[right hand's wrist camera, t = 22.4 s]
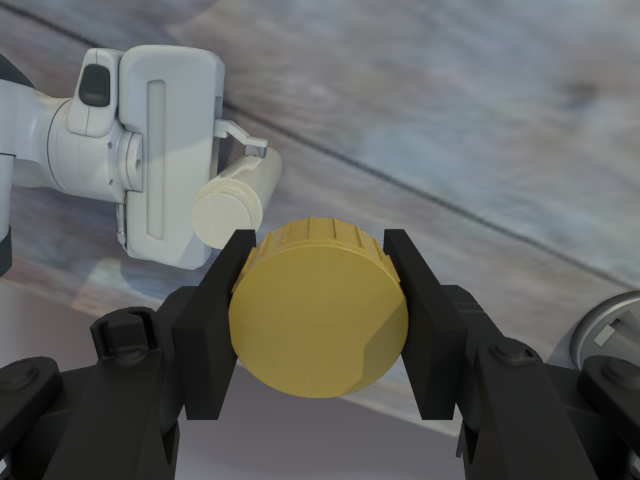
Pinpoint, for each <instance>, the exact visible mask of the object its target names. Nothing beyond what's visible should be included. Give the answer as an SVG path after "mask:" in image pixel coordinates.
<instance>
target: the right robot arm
mask: <svg viewBox="0 0 640 480" xmlns="http://www.w3.org/2000/svg"><path fill="white" fill-rule="evenodd" d="M253 247H255V248H256V234H255V229H236V230H235V231H234V233H233V235H232V236H231V238H230V239H229V241H228V242H227V244H226V245H225V247H224V248H223V250H222V251H221V253H220V254H219V256H218V257H217V259H216V260H215V262H214V263H213V265H212V266H211V268H210V269H209V271H208V272H207V274H206V275H205V277H204V278H203V280H202V281H201V283H200V284H199V286H182V287H181V288H179V289H177V290H176V291H174V292H173V293H171V294H170V295H169V296H168V297H167V299H166V300H165V301H164V302H163V304H162V306H160V308H159V309H158V310H157V311H156V312H155V311H154V310H153V309H151V308H147V307H128V308H124V309H119V310H116V311H114V312H111V313H108V314H106V315H104V316H103V317H101V318H100V319H98V320H96V321H95V322H94V323H93V325H92V326H91V327H90V330H91V334H92V337H93V341H94V345H95V348H96V352H97V355H98V359H99V360H98V362H97V364H96V365H93V366H89V367H85V368H80V369H75V370H70V371H65V372H61V373H60V371H59V368H58V365H57V363H56V361H54V360H53V359H52V358H48V357H33V358H27V359H22V360H20V361H16V362H13V363H10V364H9V365H7V366H5V367H3V368H1V369H0V461H1V460H2V459H4V461H5V463H6V466H7V467H6V468H5V469H4V470H3V471H2V473H1V474H0V480H174V478H175V470H176V462H177V453H178V445H179V436H180V432H179V425H178V420H177V418H178V416H179V414H180V411H181V409H182V407H183V405H185V410H186V416H187V420H218V417H219V414H220V411H221V408H222V405H223V402H224V398H225V395H226V392H227V389H228V386H229V383H230V380H231V377H232V374H233V370H234V367H235V364H236V361H237V358H238V356H237V355H236V353H235V351H234V349H233V346H232V342H231V333H230V324H229V314H228V309H229V305H230V301H231V298H232V296H233V294H231V292H232V289H233V287H234V285H235V283H236V281H237V279H238V276H239V274H240V272H241V270H242V268H243V266H244V265H245V263H246V261H247V259H248V256H249V254H250V252H251V250H252V248H253ZM383 251H384V253H385V255H386V256H387V255H389V257H390V259H391V261H392V264H393V266H394V268H395V270H396V272H397V275H398V277H399V279H400V282H399V284H400V286H401V288H402V290H403V293H404V295H405V297H406V299H407V303H406V304H407V309H408V315H409V327H408V334H407V338H406V342H405V345H404V347H403V349H402V351H401V356H402V359H403V362H404V365H405V368H406V371H407V374H408V377H409V381H410V384H411V387H412V390H413V393H414V396H415V399H416V402H417V405H418V409H419V412H420V415H421V418H422V420H453V414H454V409H455V403H456V404H457V406H458V408H459V410H460V412H461V415H462V417H463V420H462V425H461V430H460V435H459V440H458V446H457V452H456V457H461V453H462V452H463V461H464V469H465V477H466V480H640V291H634V292H629V293H625V294H622V295H619V296H616V297H614V298H612V299H610V300H608V301H606V302H604V303H602V304H601V305H599V306H598V307H596V308H595V309H594V310H593V311H591V312H590V313H589V314H588V315H587V316H586V317H585V318H584V319H583V321H582V322H581V323H580V324H579V326H578V327H577V329H576V331H575V333H574V335H573V338H572V341H571V347H570V353H571V358H572V361H573V363H574V365H575V367H576V368H577V369H578V370H579V371H578V370H573V369H568V368H563V367H558V366H553V365H549V364H545V363H543V361H542V359H541V358H540V356H539V355H538V354H537V352H536V351H535V350H533V349H532V348H530V347H529V346H528V345H526V344H524V343H522V342H520V341H518V340H515V339H512V338H508V337H504V335H503V334H502V333H501V332H500V330H499V329H498V328H497V327H496V325H495V324H494V323H493V322H492V320H491V319H490V318H489V316H488V315H487V314H486V313H484V310H483V309H482V308H481V306H480V305H478V303H477V301H476V300H475V299H474V297H473V296H472V295H471V294H470V293H469V292H468V291H466V290H464V289H463V288H461V287H460V286H458V285H440V283H439V282H438V280H437V279H436V277H435V276H434V274H433V273H432V271H431V270H430V268H429V267H428V265H427V264H426V262H425V261H424V259H423V258H422V256H421V254H420V253H419V251H418V250H417V248H416V247H415V245H414V244H413V242H412V241H411V239H410V238H409V236H408V235H407V233H406V232H405V230H404V229H385V231H384V245H383Z"/></svg>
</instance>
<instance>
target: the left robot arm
mask: <svg viewBox="0 0 640 480" xmlns="http://www.w3.org/2000/svg"><path fill="white" fill-rule="evenodd" d="M224 75H225V66H224V64H223V62H222V61H221V60H220V59H219V57H218V56H217V55H216V54H215V53H213V52H210V51H207V50H202V49H197V48H191V47H183V46H172V45H140V46H136V47H133V48H131V49H129V50H128V51H127V52H123V51H120V50H115V49H108V48H92V49H89V50H88V51H87V53H86V54H85V57H84V60H83V64H82V68H81V72H80V76H79V80H78V83H77V87H76V90H75V94H74V97H73V98H53V97H50V96H47V95H45V94H43V93H41V92H39V91H36V90H34V88H35V87H34V86H33V84H32V83H31V82H30V81H29V80H28V79H27V78H26V77H25V76H24V75H23V74H22V73H21V72H20V71H19V70H18V69H17V68H16V67H15V66H14V65H13V64H12V63H11V62H10V61H8V60H7V59H6V58H5V57H4V56H3V55H1V54H0V277H1V276H2V275H4V274H5V273H6V272H7V271H8V270H9V269H10V268H11V266H12V246H11V227H10V225H9V219H10V205H11V191H12V185H13V186H19V187H26V188H36V187H50V188H54V189H56V190H58V191H60V192H63V193H65V194H69V195H74V196H80V197H86V198H92V199H98V200H104V201H110V202H115V213H116V221H117V231H116V237H117V241H118V243H119V244H121V245H122V247H123V249H124V251H125V252H126V253H127V254H128V255H129V256H130V257H133V258H137V259H143V260H153V261H156V262H159V263H162V264H166V265H170V266H174V267H178V268H182V269H188V270H195V269H197V268H199V267H201V266H203V265H204V264H205V262H206V261H207V260H208V258H209V256H210V255H211V252H212V247H210V246H208V245H206V244H205V243H203V242H202V241H201V240H200V239H199V238H198V237H197V236H196V234H195V233H194V231H193V228H192V225H191V212H192V209H193V206H194V202H195V198H196V196H197V194H198V192H199V191H200V189H201V188H202V187H203V186H204V185H205V184H207V183H208V182H209V181H210V180H212V179H213V178H214V177H215V176H217V170H218V157H219V143H220V137H221V138H227V137H229V136H231V135H232V136H233V137H235V138H236V139H237V140H239V141H240V142H241V143H242V144H244V145H245V146H246V148H245V155H249V156H253V155H256V156H257V157H261V158H265V156H266V153H267V146H268V140H266V139H261V138H255V137H250V135H249V134H248V133H247V132H245V131H244V130H243V129H242V128H241V127H240V126H238V125H237V124H236V123H235V122H234V121H230V120H225V119H221V116H222V102H223V88H224ZM126 243H127V246H126Z"/></svg>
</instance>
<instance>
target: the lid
mask: <svg viewBox="0 0 640 480" xmlns="http://www.w3.org/2000/svg"><path fill="white" fill-rule="evenodd" d="M399 282H400V279H399V277H398V275H397V272H396V270H395V268H394V266H393V264H392V261H391V259H390V257H389V255H387V256H386V255H385V253H384V251H383V250H382V249H381V247H380V246H379V243H378V241H377V239H376V238H374V239H373V238H372V237H370V236H369V235H368V234H366V233H365V232H364V231H362V230H361V229H360V228H359V226H357V225H356V226H353V225H351V224H348V223H346V222H342V221H339V220H337V218H334V219H328V218H313V217H310V218H309V219H302V220H298V221H294V222H290V221H289V222H287V224H286V225H283V226H281V227H280V228H278V229H276V230H274V231H273V232H272V233H270V232H268V233H267V235H266V237H265V238H264V239H263V240H262V241H261V242H260V243H259V244H258V246H257V247H256V248H255V247H253V248H252V250H251V252H250V254H249V256H248V259H247V261H246V263H245V265H244V266H243V268H242V270H241V272H240V274H239V276H238V279H237V281H236V283H235V285H234V287H233V289H232V292H231V294H233V296H232V298H231V301H230V305H229V309H228V314H229V324H230V333H231V342H232V346H233V349H234V351H235V353H236V355H237V356H238V358H239V360H240V361H241V362H242V364H243V365H244V366H245V367H246V368H247V369H248V370H249V371H250V372H251V373H252V374H253V375H254V376H255V377H256V378H258V379H259V380H260V381H262V382H263V383H265V384H267V385H268V386H270V387H272V388H274V389H277V390H279V391H281V392H284V393H287V394H290V395H295V396H300V397H307V398H330V397H337V396H342V395H346V394H349V393H352V392H355V391H358V390H360V389H362V388H364V387H366V386H368V385H370V384H372V383H373V382H375V381H376V380H377V379H379V378H380V377H381V376H383V375H384V374H385V373H386V372H387V371H388V370H389V369H390V368H391V366H392V365H393V364H394V363H395V362H396V360H397V358H398V357H399V355H400V354H401V351H402V349H403V347H404V345H405V342H406V338H407V334H408V327H409V315H408V309H407V304H406V303H407V299H406V297H405V295H404V293H403V290H402V288H401V286H400V284H399Z"/></svg>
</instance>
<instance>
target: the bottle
mask: <svg viewBox="0 0 640 480" xmlns="http://www.w3.org/2000/svg"><path fill="white" fill-rule="evenodd" d="M283 169H284V165H283V160H282V158H281V156H280V155H279V153H278V152H277V151H276V150H274V149H273V148H271V147H268V146H267V153H266V156H265V158H261V157H257V156H256V155H253V156H249V155H245V154H243V155H242V156H241V157H240V158H238V159H237V160H236V161H235V162H233V163H232V164H231V165H229V166H228V167H227V168H226V169H224V170H223V171H222V172H221V173H219V174H218V175H217V176H215V177H214V178H213V179H212V180H210V181H209V182H208V183H207V184H205V185H204V186H203V187H202V188H201V189H200V191H199V192H198V194H197V196H196V198H195V202H194V206H193V209H192V212H191V225H192V228H193V231H194V233H195V234H196V236H197V237H198V238H199V239H200V240H201V241H202V242H203V243H205V244H206V245H208V246H210V247H213V248H216V249H221V250H223V248H224V247H225V245H226V244H227V242H228V241H229V239H230V238H231V236H232V235H233V233H234V231H235V230H236V229H255V233H256V232H257V230H258V229H259V227H260V225H261V223H262V220H263V218H264V216H265V213H266V211H267V209H268V206H269V204H270V202H271V199H272V197H273V195H274V192H275V190H276V188H277V185H278V183H279V181H280V179H281V176H282V174H283Z"/></svg>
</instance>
